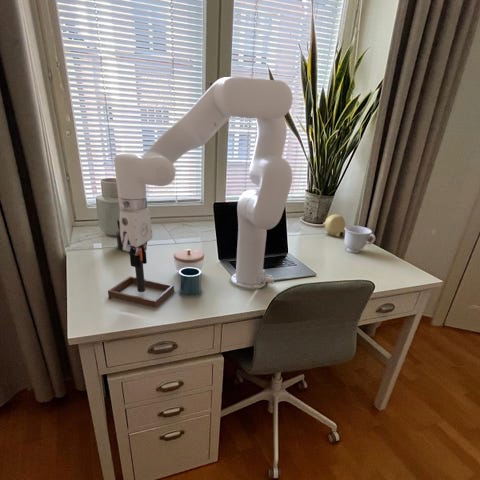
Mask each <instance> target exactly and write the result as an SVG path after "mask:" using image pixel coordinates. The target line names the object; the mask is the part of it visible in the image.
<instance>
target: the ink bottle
mask: <svg viewBox="0 0 480 480" xmlns="http://www.w3.org/2000/svg"><path fill="white" fill-rule="evenodd" d="M116 222H117V223H116V224H117V229H118V230H117V231H116V233H115V235H116V243H117V248H118V249H119V250H120V251H123V244H122V242H121V236H120V217H118V218H116ZM132 248H134V247H132Z"/></svg>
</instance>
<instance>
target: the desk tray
mask: <svg viewBox="0 0 480 480" xmlns="http://www.w3.org/2000/svg"><path fill="white" fill-rule="evenodd" d="M144 282H145V287H146V288H152V289H156V290H161V291H163V292H162V293H160V294H159V295H158V296H157V297H156V298H155V299H151V298H146V297H143V296H137V295H133V294H129V293H125V292H122V291H124V290H125V289H127V288H128V287H130V286H131V285H137V281H136V276H131V275H129V276H128V277H126V278H125V279H123V280H122V281H121V282H119V283H118V284H116V285H114V286H113V287H111V288H110V289H109V290H107V295H108V296H107V297H108V299H109V300H112V299H115V300H118V301H119V300H120V301H124V302H128V303H132V304H136V305H142V306H146V307H150V308H154V309H156V308H157V307H159V306H160V305H161V304H162V303H163V302H164V301H165V300H166V299H167V298H168V297H170V296H171V295H172V294H173V293H174V292H175V285H174V284H170V283H164V282H160V281H159V282H158V281H155V280H150V279H147V278H146V279H145V278H144Z"/></svg>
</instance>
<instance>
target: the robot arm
mask: <svg viewBox="0 0 480 480" xmlns="http://www.w3.org/2000/svg"><path fill="white" fill-rule="evenodd" d="M293 100H294V97H293V92H292V89H291V87H290V85H288V84H287V83H286V82H284V81H282V80H279V79H278V80H276V79H263V78H249V77H244V76H243V77H242V76H228V77H227V76H226V77H220V78H219V79H217V80H216V81H214V83H213V84H211V86H210V87H209V88H208V89H207V90H206V91H205V92H204V93H203V95H201V97H200V98H199V99H197V101H196V102H195V103H194V104H193V106H191V108H190V109H189V110H188V111H187V112H186V113H185V114H184V115H183V116H182V117H181V118H180V119H179V120H178V121H176V122H175V123H174V124H173V125H172V126H171V127H169V129H168V130H166V131H165V132H163V134H162V135H161V136H160V137H159V138H158V139H157V140H156V141H155V142H154V143H153V144H152V145H151V146H150V147H149V149H148V150H147V151H146V152H145V153H144V155H143V157H141V155H138V154H133V153H120V154H117V155H115V156H114V158H113V163H114V164H113V165H114V173H115V181H116V182H115V183H116V190H117V198H118V206H119V218H120V236H121V242H122V244H123V250H122V251H123V252H127V254H128V255H129V262H130V266H131V267H133V268H135V267H138V268H140V267H141V261H140V255H138V247H139V248H142V257H143V265H146V264H147V263H148V261H147V260H148V259H147V249H148V248H147V244H148V242H149V241H151V240H152V239H153V226H152V225H153V224H152V219H151V214H150V210H149V207H148V197H147V185H148V186H155V187H166V186H168V185H171V183H172V182H173V181H174V180H175V178H176V168H175V165H174V164H175V163H176V162H177V161H178V160H179V159H180V158H181V157H182V156H183V155H185V154H186V153H188V152H190V151H192V150H195V149H199V148H201V147H203V146H204V145H205V144H207V142H209V141H210V140H211V139H212V138H213V136H214V135H215V134H216V133H218V131H219V130H220V129H221V128H222V127H223V126H224V125H225V124H226V122H228V121H229V119H230V118H231V117H234V118H245V119H255V122H256V126H257V127H256V129H257V133H256V140H255V144H254V150H253V154H252V157H251V162H250V166H249V169H248V170H249V171H248V173H249V174H248V176H249V179H250V181H251V182H252V184H254V185H256V186H257V187H259V190H258V189H248V190H245V191H244V192H243V193H242V194H240V196H239V198H238V200H237V206H236V212H237V224H238V225H237V226H238V227H237V229H238V230H237V247H236V261H235V265H236V266H235V273H234V274H233V275H232V276H231V278H230V281H231V283H232V284H233V285H234V286H236V287H238V288H243V289H249V290H251V289H257V290H259V289H261V288H263V287H264V286H266V283H268V284H274V281H275V278H274V277H273V275H271V274H267V273H266V270H265V269H264V263H265V254H266V253H265V252H266V242H267V231H268V230H272V229H273V228H275V227H276V226H277V225H278V224H279V223H280V221H281V219H282V216H283V215H284V214H283V213H284V210H285V207H286V204H287V200H288V197H289V194H290V191H291V187H292V184H293V183H292V182H293V170H292V167H291V165H290V163H289V162H288V161H287V160H286V159H284V158H282V157H283V154H284V149H285V144H286V139H287V123H286V118H285V116H286V115H287V114H288V113H289V112H290V110H291V109H292V106H293V102H294V101H293ZM132 247H134V249H133V248H132Z"/></svg>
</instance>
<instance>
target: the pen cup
mask: <svg viewBox="0 0 480 480" xmlns="http://www.w3.org/2000/svg"><path fill="white" fill-rule="evenodd" d="M178 282H179V283H178V288H179V293H180V294H181V295H183V296H188V297H192V296H193V297H194V296H197V295H199V294H200V293H201V292H202V270H201V271H200V270H199V269H197V268H193V267H187V268H183V269H181V270H179V272H178Z"/></svg>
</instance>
